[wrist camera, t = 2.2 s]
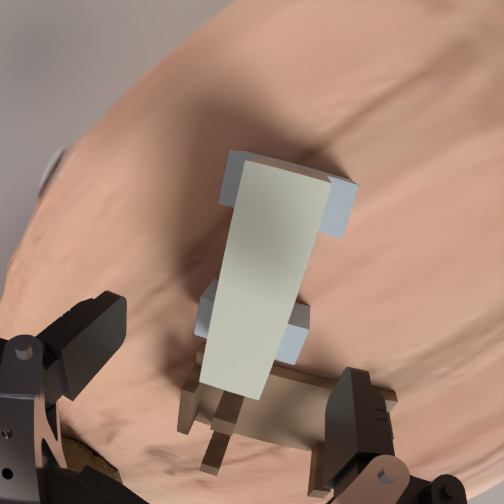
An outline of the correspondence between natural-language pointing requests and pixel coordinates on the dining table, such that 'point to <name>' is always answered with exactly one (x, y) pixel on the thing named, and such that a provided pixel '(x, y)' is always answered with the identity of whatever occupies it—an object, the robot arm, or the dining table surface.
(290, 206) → the white rectangular block
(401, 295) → the dining table surface
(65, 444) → the clay pot
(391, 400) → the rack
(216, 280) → the pair of grey blocks
